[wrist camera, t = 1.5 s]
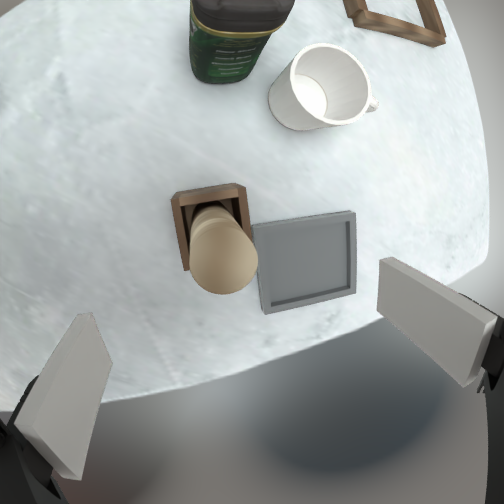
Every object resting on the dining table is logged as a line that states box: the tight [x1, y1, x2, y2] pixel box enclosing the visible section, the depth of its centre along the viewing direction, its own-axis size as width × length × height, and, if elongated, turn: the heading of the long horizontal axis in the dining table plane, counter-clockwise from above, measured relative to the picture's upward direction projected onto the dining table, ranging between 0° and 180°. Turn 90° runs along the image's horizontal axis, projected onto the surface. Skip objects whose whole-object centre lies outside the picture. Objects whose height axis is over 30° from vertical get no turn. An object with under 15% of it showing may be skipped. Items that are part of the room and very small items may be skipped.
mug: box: [268, 43, 379, 131], centre depth 29 cm, size 11×9×10 cm
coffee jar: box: [189, 0, 295, 83], centre depth 21 cm, size 10×8×19 cm
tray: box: [251, 211, 357, 315], centre depth 39 cm, size 14×12×2 cm
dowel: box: [189, 200, 258, 294], centre depth 26 cm, size 4×4×17 cm
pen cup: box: [171, 183, 253, 271], centre depth 32 cm, size 7×7×8 cm
